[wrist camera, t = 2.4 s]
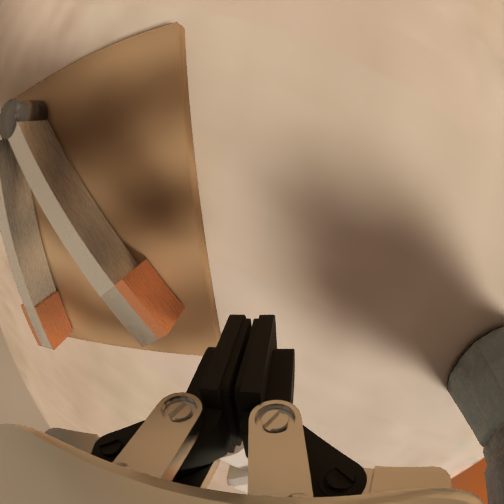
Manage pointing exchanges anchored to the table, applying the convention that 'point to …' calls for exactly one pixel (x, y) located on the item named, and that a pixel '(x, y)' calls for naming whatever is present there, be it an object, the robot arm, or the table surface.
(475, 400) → the moka pot
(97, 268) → the tong leg
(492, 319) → the table surface
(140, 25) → the table surface
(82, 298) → the board
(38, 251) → the bar
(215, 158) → the table surface
